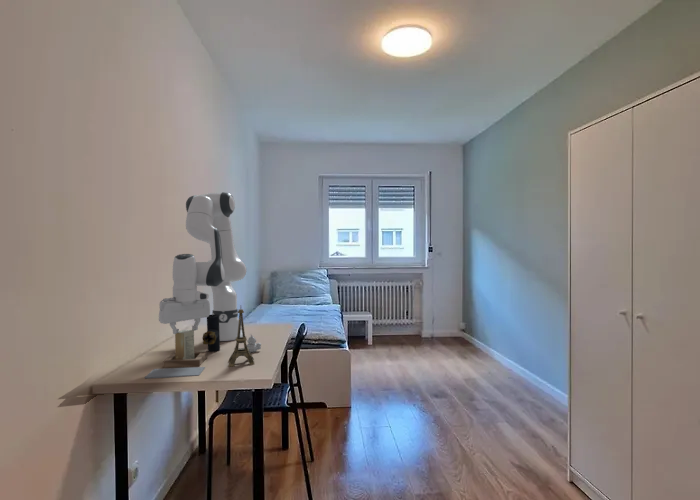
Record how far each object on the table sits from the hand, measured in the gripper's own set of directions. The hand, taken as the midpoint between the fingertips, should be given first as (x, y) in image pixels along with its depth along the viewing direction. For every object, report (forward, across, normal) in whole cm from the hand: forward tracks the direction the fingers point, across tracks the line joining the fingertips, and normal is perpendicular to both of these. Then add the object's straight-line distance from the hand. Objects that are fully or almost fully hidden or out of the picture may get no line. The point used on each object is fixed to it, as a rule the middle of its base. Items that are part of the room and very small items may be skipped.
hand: (185, 331), depth 173 cm
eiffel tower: (+12, +12, -19) cm, 25 cm away
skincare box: (+12, 0, 0) cm, 12 cm away
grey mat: (+12, -10, -10) cm, 18 cm away
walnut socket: (+12, 0, 0) cm, 12 cm away
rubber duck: (+12, +26, -8) cm, 30 cm away
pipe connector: (+12, +16, +6) cm, 21 cm away
